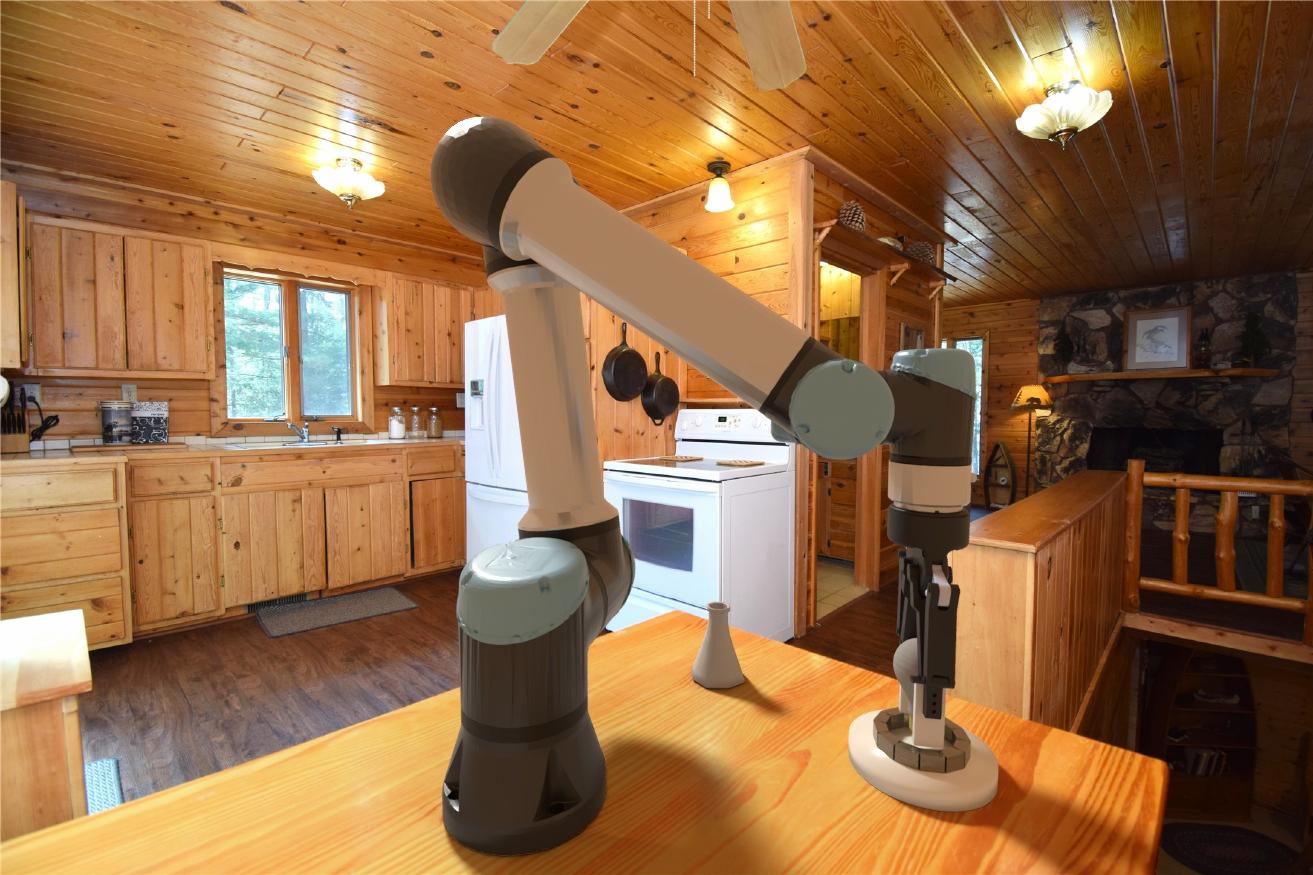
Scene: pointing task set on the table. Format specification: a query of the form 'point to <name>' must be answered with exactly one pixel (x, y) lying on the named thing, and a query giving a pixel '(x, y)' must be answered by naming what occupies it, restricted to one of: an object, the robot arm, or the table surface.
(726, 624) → the flask
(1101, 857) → the table surface
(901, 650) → the light bulb
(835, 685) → the table surface
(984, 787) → the socket base
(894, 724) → the socket collar
